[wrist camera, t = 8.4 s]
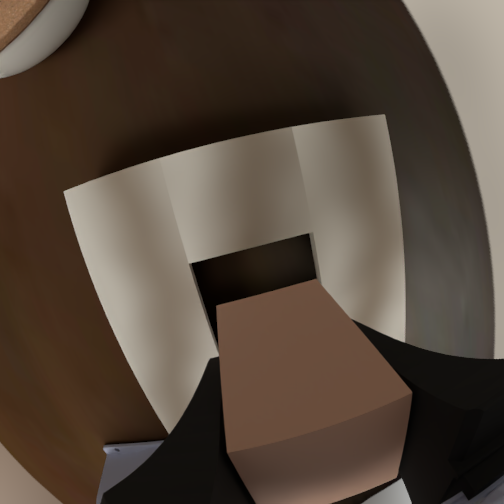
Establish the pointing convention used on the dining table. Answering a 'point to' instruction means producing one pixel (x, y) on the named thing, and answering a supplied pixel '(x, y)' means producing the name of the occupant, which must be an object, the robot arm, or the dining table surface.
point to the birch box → (239, 238)
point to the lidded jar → (34, 30)
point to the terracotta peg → (307, 398)
